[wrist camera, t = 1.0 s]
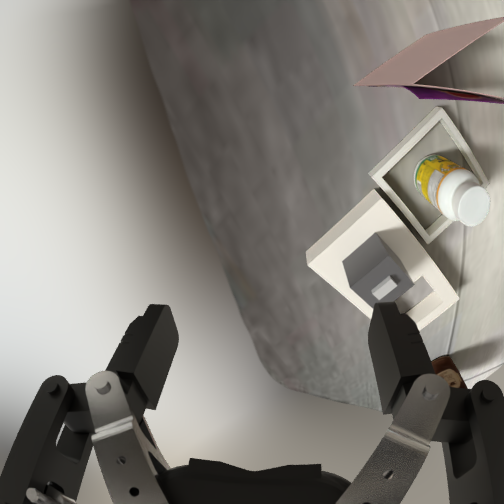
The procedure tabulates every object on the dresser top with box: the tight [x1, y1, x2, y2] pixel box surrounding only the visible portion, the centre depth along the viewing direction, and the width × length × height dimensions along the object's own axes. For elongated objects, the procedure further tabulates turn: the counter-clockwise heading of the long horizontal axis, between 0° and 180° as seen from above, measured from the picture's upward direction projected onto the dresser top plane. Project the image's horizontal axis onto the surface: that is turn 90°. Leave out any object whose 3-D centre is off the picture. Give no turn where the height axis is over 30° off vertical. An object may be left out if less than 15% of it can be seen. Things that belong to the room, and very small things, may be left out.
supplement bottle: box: [414, 155, 490, 226], centre depth 26 cm, size 5×5×10 cm
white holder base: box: [306, 189, 460, 331], centre depth 33 cm, size 11×20×9 cm, turn 50°
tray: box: [368, 106, 490, 244], centre depth 29 cm, size 12×12×2 cm
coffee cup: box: [431, 356, 468, 389], centre depth 40 cm, size 9×8×13 cm
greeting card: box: [353, 17, 504, 104], centre depth 18 cm, size 11×7×15 cm, turn 98°
